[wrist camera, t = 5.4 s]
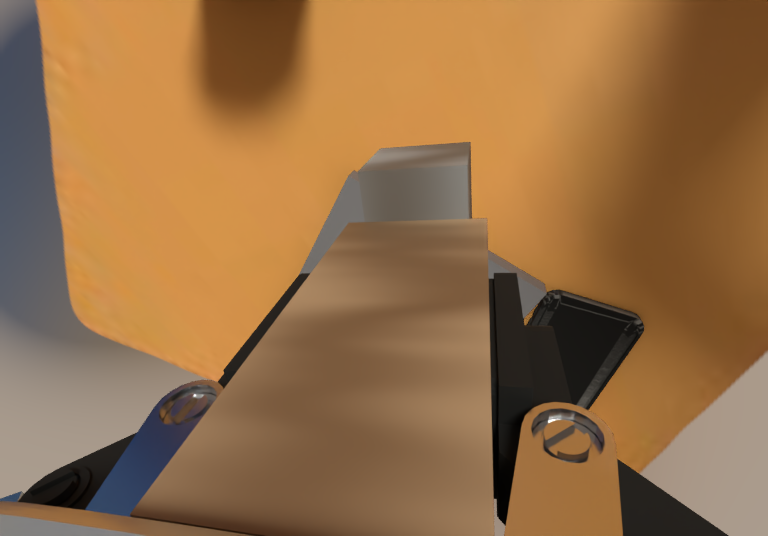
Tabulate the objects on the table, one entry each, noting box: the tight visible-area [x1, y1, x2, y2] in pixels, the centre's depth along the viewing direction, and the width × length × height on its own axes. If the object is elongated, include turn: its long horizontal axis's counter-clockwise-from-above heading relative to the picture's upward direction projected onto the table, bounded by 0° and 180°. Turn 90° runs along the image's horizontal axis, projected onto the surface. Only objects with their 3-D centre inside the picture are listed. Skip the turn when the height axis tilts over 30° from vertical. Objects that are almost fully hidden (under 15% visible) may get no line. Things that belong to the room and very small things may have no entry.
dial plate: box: [299, 171, 547, 319], centre depth 36 cm, size 18×17×2 cm
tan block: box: [130, 142, 494, 536], centre depth 10 cm, size 4×7×12 cm, turn 6°
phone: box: [527, 290, 644, 410], centre depth 36 cm, size 8×1×15 cm
